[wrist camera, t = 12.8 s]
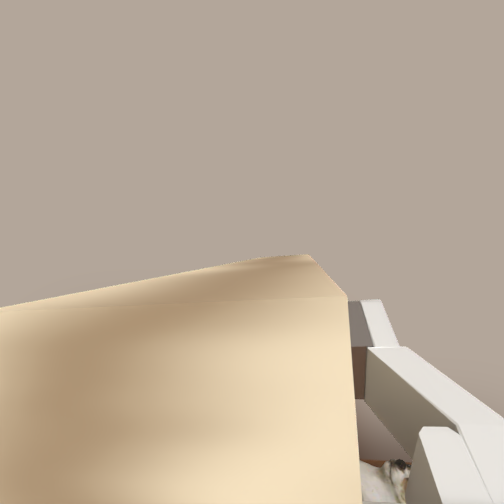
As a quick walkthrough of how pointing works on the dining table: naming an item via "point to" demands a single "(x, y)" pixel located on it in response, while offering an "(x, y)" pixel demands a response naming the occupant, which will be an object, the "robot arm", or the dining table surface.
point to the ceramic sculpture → (384, 481)
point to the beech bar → (182, 391)
